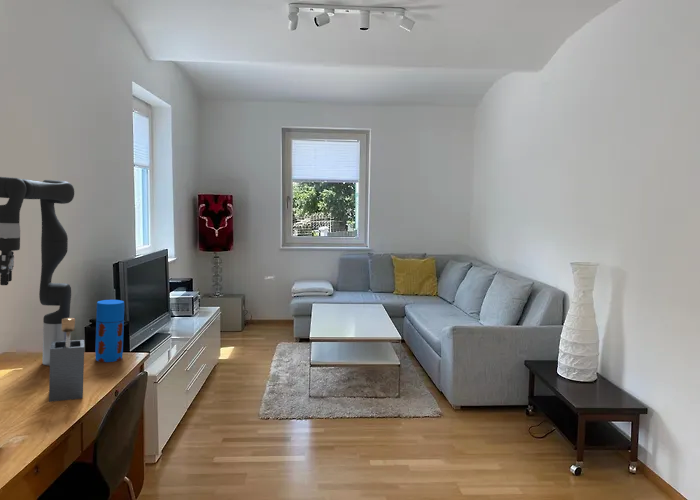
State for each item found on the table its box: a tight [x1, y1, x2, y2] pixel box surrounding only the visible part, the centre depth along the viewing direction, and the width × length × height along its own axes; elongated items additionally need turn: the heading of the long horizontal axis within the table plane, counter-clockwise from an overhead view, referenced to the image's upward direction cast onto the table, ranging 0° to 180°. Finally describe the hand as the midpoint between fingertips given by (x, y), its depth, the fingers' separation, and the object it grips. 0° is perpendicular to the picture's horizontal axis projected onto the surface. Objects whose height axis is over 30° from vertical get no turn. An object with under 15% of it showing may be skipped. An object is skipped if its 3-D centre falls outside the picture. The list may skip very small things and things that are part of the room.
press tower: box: [48, 339, 85, 403], centre depth 170 cm, size 10×10×18 cm
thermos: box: [94, 299, 125, 363], centre depth 212 cm, size 11×11×25 cm
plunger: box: [62, 317, 76, 347], centre depth 169 cm, size 7×7×26 cm
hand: (6, 283), depth 167 cm, fingers open, 8 cm apart
